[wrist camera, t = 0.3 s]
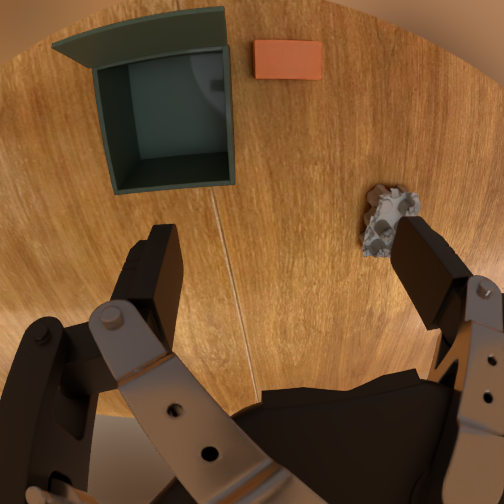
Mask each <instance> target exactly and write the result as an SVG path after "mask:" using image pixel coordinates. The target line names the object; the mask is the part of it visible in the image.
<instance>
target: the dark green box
mask: <svg viewBox="0 0 504 504" xmlns="http://www.w3.org/2000/svg"><path fill="white" fill-rule="evenodd" d="M92 73H93V82H94V89H95V97H96V104H97V110H98V117H99V123H100V128H101V134H102V140H103V145H104V150H105V155H106V160H107V165H108V169H109V174H110V178H111V183H112V187H113V191H114V195H122V194H131V193H140V192H150V191H160V190H171V189H182V188H195V187H208V186H223V185H235V145H234V126H233V105H232V84H231V62H230V47H229V45H227V46H213V47H202V48H192V49H184V50H176V51H169V52H163V53H156V54H150V55H145V56H140V57H135V58H130V59H125V60H120V61H116V62H112V63H108V64H104V65H100V66H96V67H92Z"/></svg>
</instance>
